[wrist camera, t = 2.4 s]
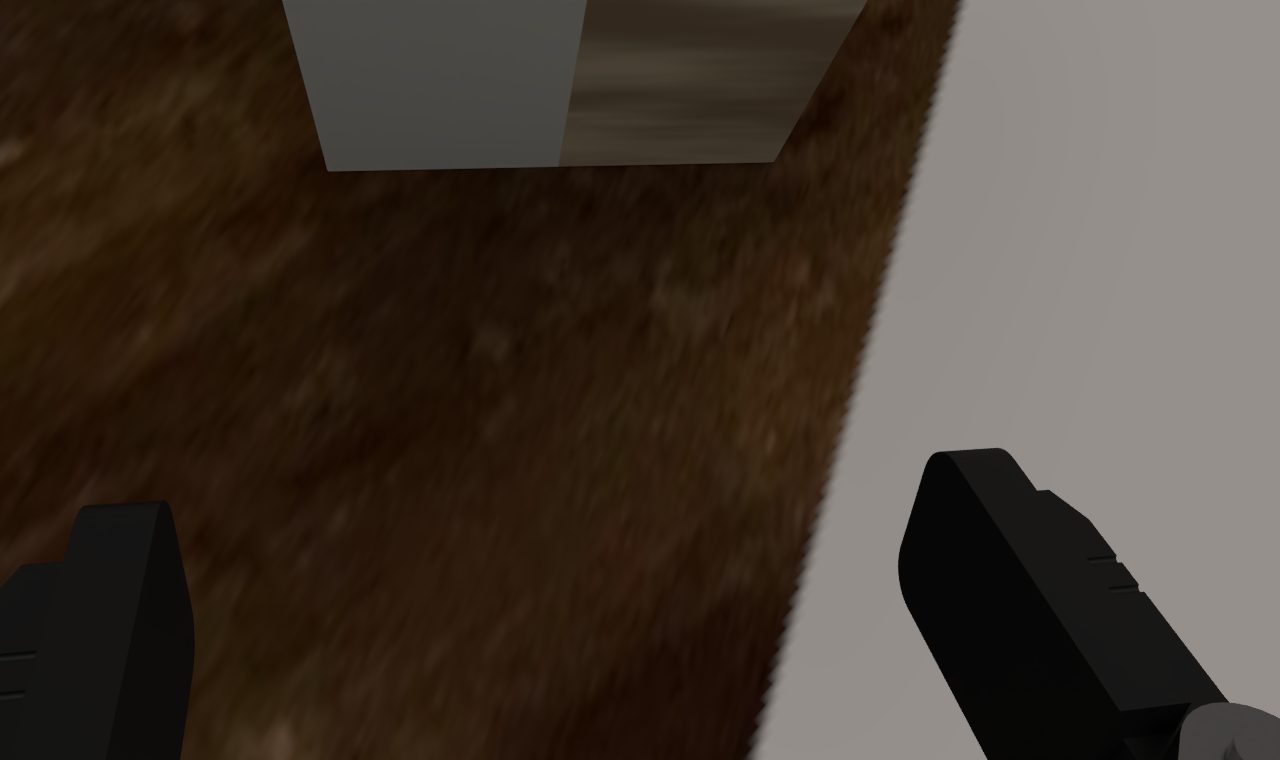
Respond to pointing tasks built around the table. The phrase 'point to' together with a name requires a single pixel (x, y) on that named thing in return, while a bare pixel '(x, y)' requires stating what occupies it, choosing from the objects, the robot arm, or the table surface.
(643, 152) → the wood grain block
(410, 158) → the tall step
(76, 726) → the robot arm
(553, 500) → the table surface
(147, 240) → the table surface
